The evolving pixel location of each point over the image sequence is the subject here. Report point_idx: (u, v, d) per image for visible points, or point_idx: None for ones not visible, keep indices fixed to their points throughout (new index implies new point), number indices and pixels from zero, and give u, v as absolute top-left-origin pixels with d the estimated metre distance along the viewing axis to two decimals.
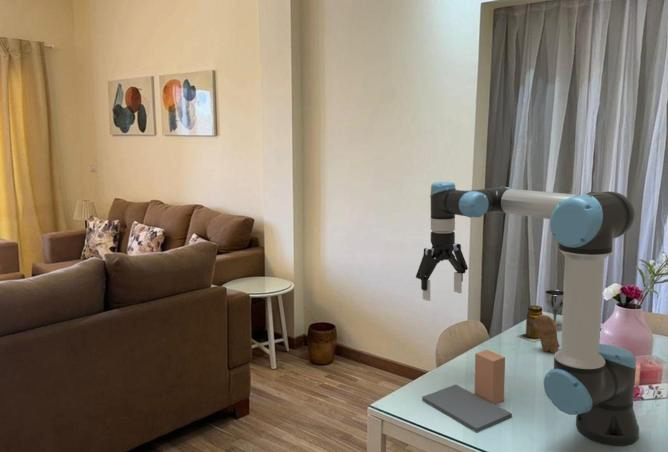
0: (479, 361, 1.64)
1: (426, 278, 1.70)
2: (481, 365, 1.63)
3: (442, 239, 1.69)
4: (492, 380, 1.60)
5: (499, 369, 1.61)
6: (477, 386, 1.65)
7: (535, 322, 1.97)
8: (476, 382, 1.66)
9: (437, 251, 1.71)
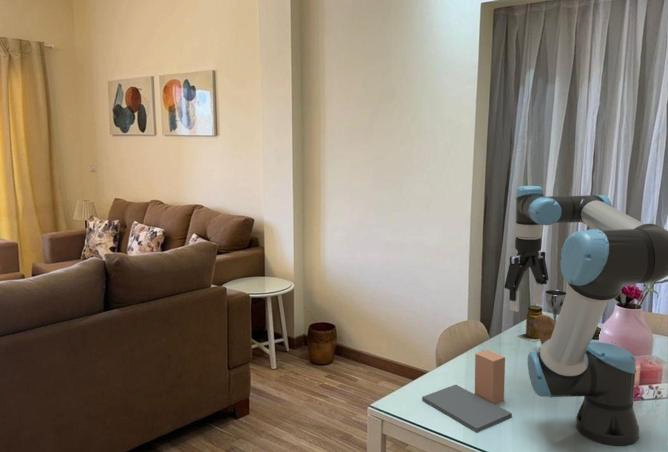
0: (479, 361, 1.64)
1: (515, 288, 1.64)
2: (481, 365, 1.63)
3: (529, 245, 1.62)
4: (492, 380, 1.60)
5: (499, 369, 1.61)
6: (477, 386, 1.65)
7: (535, 322, 1.97)
8: (476, 382, 1.66)
9: (523, 258, 1.64)
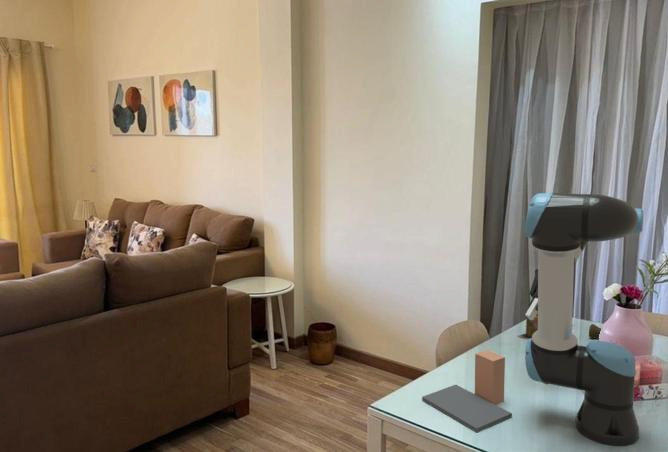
0: (479, 361, 1.64)
1: (534, 295, 1.73)
2: (481, 365, 1.63)
3: None
4: (492, 380, 1.60)
5: (499, 369, 1.61)
6: (477, 386, 1.65)
7: (535, 322, 1.97)
8: (476, 382, 1.66)
9: None
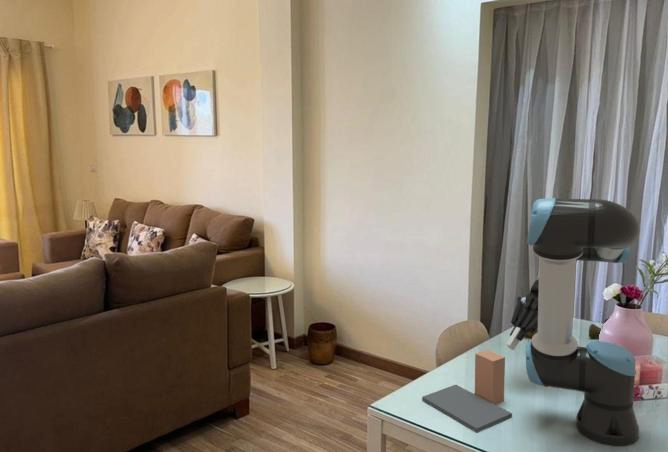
0: (479, 361, 1.64)
1: (515, 324, 1.71)
2: (481, 365, 1.63)
3: None
4: (492, 380, 1.60)
5: (499, 369, 1.61)
6: (477, 386, 1.65)
7: None
8: (476, 382, 1.66)
9: (527, 296, 1.75)
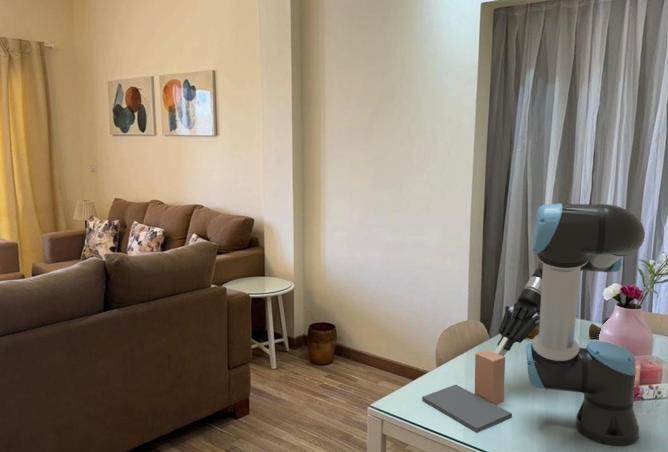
0: (479, 361, 1.64)
1: (503, 334, 1.68)
2: (481, 365, 1.63)
3: None
4: (492, 380, 1.60)
5: (499, 369, 1.61)
6: (477, 386, 1.65)
7: None
8: (476, 382, 1.66)
9: (515, 305, 1.72)
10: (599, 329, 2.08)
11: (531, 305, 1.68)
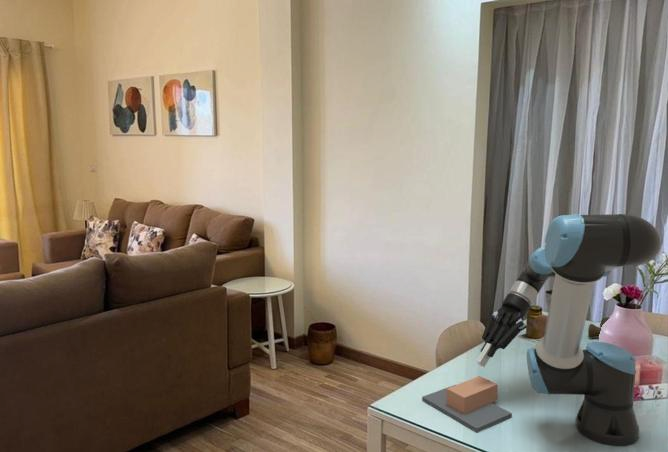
0: None
1: (486, 340, 1.64)
2: None
3: None
4: (478, 407, 1.58)
5: (472, 401, 1.56)
6: None
7: (535, 322, 1.97)
8: None
9: (499, 310, 1.68)
10: (598, 329, 2.09)
11: (515, 310, 1.64)
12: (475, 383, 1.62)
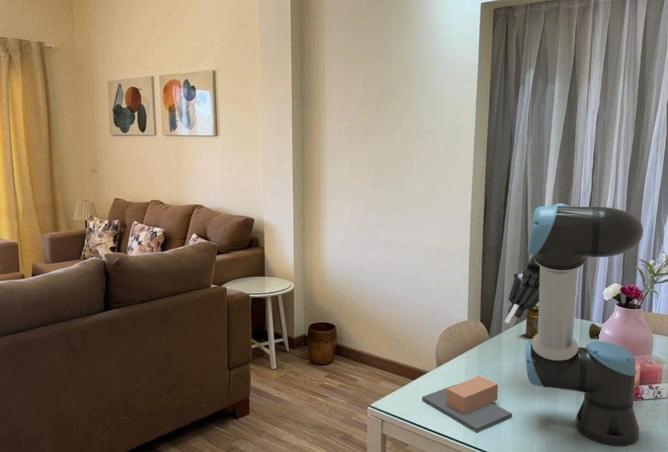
0: None
1: (513, 301, 1.68)
2: None
3: None
4: (478, 407, 1.58)
5: (472, 401, 1.56)
6: None
7: (535, 322, 1.97)
8: None
9: (525, 272, 1.72)
10: (599, 329, 2.09)
11: None
12: (475, 383, 1.62)
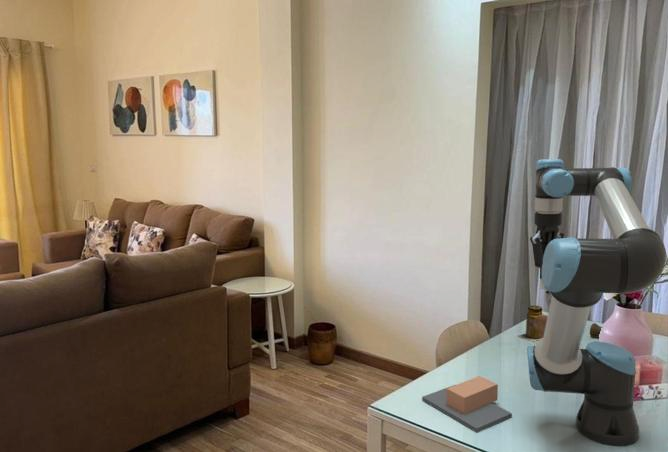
0: None
1: None
2: None
3: (549, 220, 1.58)
4: (478, 407, 1.58)
5: (472, 401, 1.56)
6: None
7: (535, 322, 1.97)
8: None
9: (543, 233, 1.60)
10: (600, 329, 2.09)
11: (554, 226, 1.62)
12: (475, 383, 1.62)
